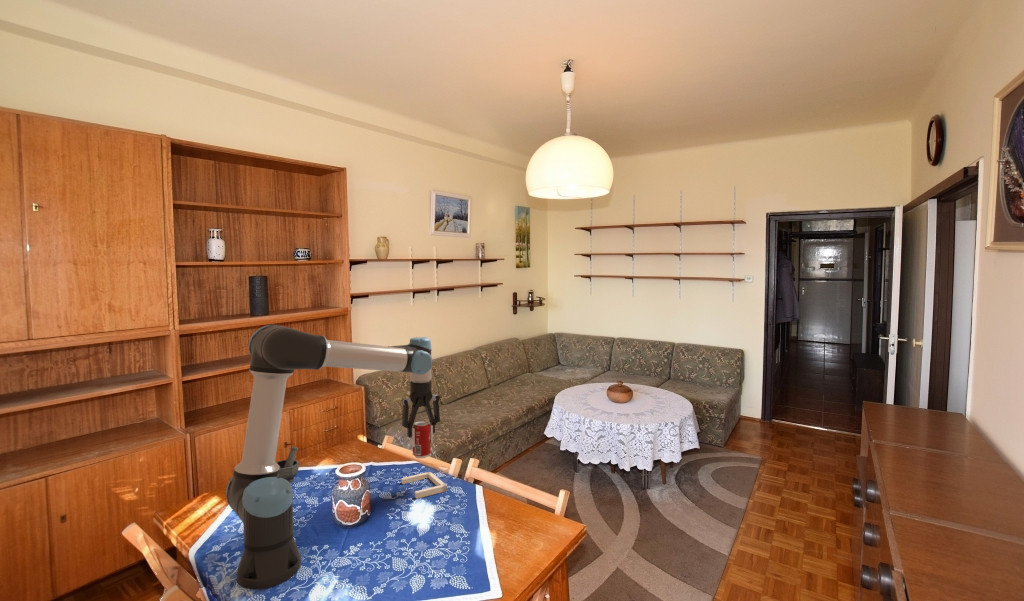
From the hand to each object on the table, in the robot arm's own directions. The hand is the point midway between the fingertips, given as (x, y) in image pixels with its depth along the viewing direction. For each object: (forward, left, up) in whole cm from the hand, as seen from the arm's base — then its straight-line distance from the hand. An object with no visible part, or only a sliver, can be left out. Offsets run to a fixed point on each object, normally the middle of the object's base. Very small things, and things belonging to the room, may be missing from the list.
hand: (421, 443), depth 175 cm
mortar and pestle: (+32, +41, -16) cm, 54 cm away
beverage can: (0, 0, -5) cm, 5 cm away
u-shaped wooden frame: (0, 0, -16) cm, 16 cm away
